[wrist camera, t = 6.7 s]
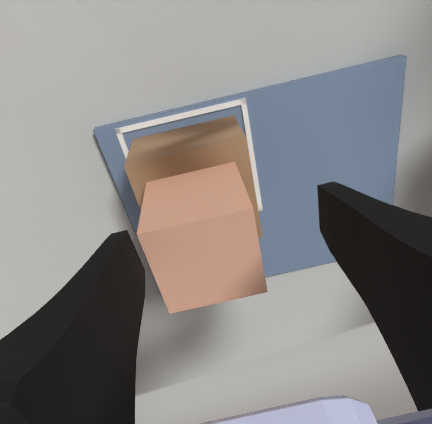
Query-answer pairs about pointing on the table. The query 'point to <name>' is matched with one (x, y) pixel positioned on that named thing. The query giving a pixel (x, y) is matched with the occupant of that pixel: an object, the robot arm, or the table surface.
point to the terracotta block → (201, 238)
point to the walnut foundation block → (191, 155)
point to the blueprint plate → (293, 150)
